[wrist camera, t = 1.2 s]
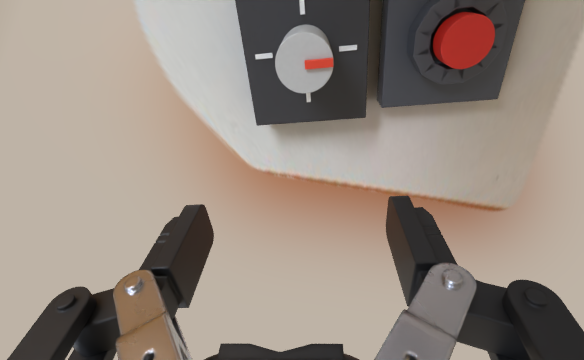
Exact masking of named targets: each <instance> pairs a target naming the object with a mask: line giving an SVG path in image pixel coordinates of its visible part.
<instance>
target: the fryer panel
mask: <svg viewBox="0 0 584 360" xmlns="http://www.w3.org/2000/svg"><path fill="white" fill-rule="evenodd" d="M235 1H236V7H237V13H238V19H239V25H240V31H241V36H242V42H243V48H244V54H245V60H246V65H247V71H248V77H249V83H250V89H251V94H252V100H253V106H254V112H255V118H256V123H257V125H270V124H284V123H297V122H311V121H325V120H339V119H353V118H365V117H366V93H367V65H368V37H369V10H370V0H235ZM299 25H312V26H315V27H317V28H319V29H320V30H321V31H323V33H324V34H325V35H326V37H327V39H328V41H329V44H330V47H331V50H332V54H333V59H334V66H333V71H332V74H331V76H330V78H329V80H328V81H327V83H326V84H325V85H324V86H323V87H321V88H320V89H318V90H317V91H314V92H311V93H297V92H294V91H292V90H290V89H288V88H287V87H286V86H285V85H284V84H283V83H282V82H281V81H280V79H279V77H278V75H277V72H276V67H275V59H276V54H277V51H278V49H279V47H280V45H281V43H282V41H283V39H284V37H285V36H286V34H287V33H288V32H289V31H290V30H291V29H293V28H294V27H296V26H299Z"/></svg>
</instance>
